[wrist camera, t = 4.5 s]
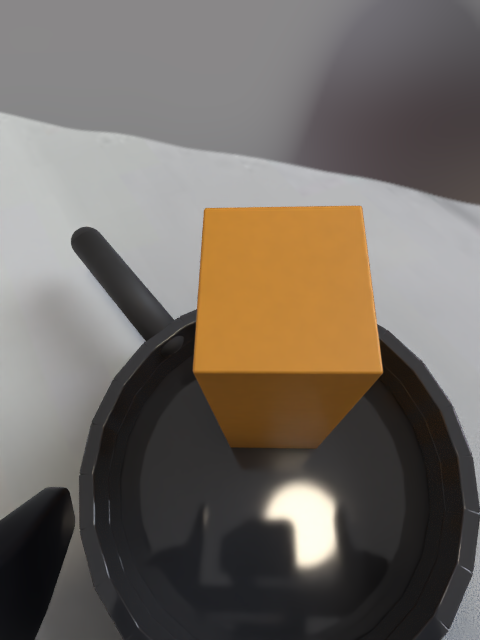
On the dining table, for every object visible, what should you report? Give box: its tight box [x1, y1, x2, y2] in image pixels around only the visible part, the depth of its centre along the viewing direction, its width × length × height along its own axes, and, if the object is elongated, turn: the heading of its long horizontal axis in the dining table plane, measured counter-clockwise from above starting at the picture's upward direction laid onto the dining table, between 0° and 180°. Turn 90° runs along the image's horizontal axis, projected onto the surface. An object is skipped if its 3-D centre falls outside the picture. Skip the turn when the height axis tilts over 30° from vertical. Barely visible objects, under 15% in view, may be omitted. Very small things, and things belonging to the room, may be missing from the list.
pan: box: [79, 309, 480, 640], centre depth 17 cm, size 15×15×4 cm
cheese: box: [193, 206, 383, 449], centre depth 15 cm, size 4×4×12 cm
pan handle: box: [71, 227, 184, 355], centre depth 20 cm, size 9×2×2 cm, turn 40°
